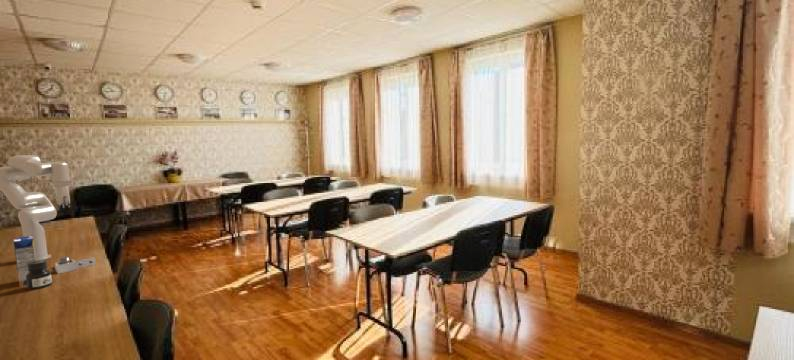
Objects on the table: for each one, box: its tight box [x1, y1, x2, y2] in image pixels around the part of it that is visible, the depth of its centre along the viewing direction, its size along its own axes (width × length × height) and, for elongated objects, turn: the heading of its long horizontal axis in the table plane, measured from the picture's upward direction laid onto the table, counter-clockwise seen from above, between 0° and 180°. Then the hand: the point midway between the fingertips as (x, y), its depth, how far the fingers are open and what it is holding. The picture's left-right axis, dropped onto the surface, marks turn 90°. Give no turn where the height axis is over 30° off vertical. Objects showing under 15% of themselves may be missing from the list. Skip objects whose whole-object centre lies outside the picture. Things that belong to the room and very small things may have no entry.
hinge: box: [54, 256, 96, 275], centre depth 219 cm, size 17×17×4 cm
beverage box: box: [13, 236, 36, 287], centre depth 196 cm, size 7×11×22 cm, turn 44°
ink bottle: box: [26, 259, 53, 290], centre depth 189 cm, size 10×9×12 cm
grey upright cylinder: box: [59, 256, 71, 264], centre depth 213 cm, size 4×4×7 cm
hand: (65, 213), depth 226 cm, fingers open, 9 cm apart
